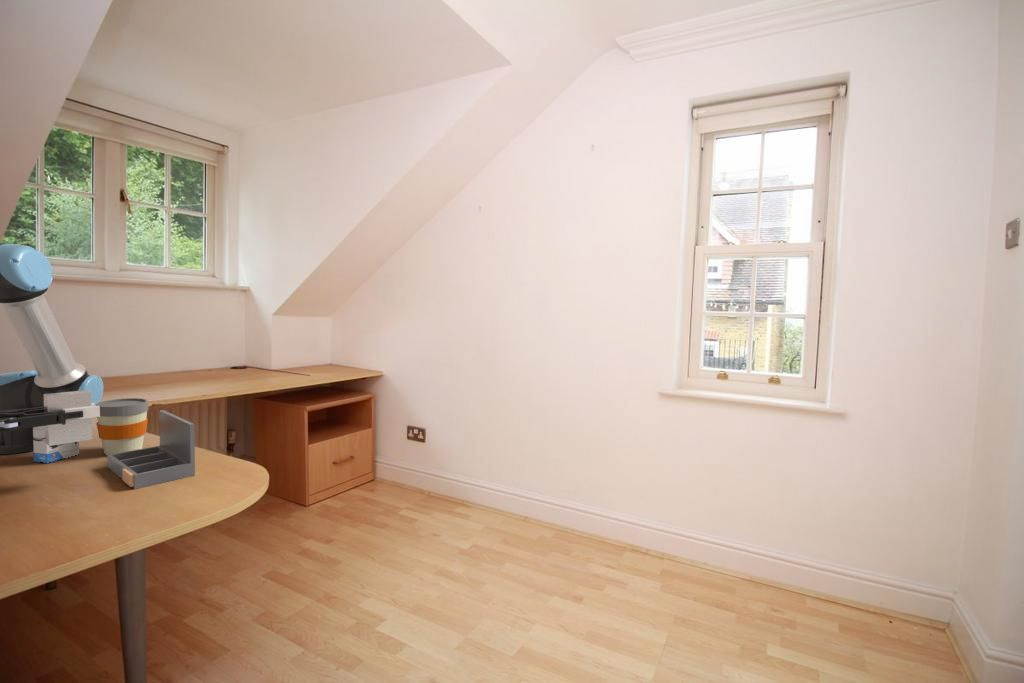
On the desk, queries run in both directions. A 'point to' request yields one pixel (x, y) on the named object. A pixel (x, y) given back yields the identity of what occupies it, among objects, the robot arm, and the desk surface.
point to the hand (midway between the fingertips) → (96, 409)
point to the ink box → (51, 448)
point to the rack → (159, 455)
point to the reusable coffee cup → (122, 424)
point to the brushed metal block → (72, 428)
